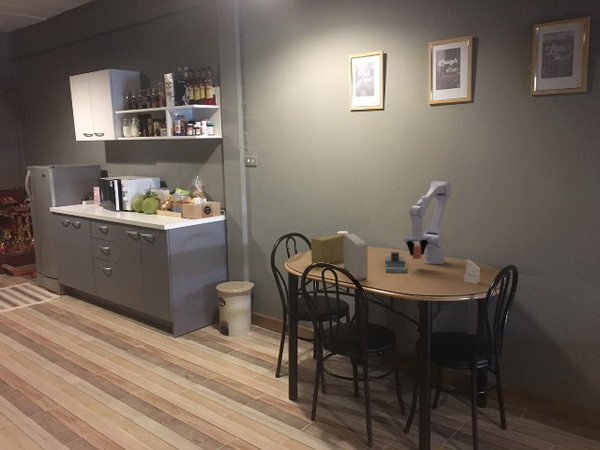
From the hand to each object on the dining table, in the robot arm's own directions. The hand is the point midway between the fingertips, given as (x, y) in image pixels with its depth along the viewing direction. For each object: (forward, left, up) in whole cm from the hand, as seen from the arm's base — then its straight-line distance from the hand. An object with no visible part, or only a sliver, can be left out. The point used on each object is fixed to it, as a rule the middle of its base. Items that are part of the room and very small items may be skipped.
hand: (416, 254), depth 260 cm
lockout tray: (+11, +5, -7) cm, 14 cm away
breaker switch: (+11, -4, -4) cm, 12 cm away
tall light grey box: (+31, +12, -7) cm, 34 cm away
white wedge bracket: (-24, +23, -7) cm, 34 cm away
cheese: (+45, -9, -7) cm, 47 cm away
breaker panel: (+11, -7, -7) cm, 15 cm away
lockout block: (0, 0, -2) cm, 2 cm away
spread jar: (+41, -36, -7) cm, 55 cm away
